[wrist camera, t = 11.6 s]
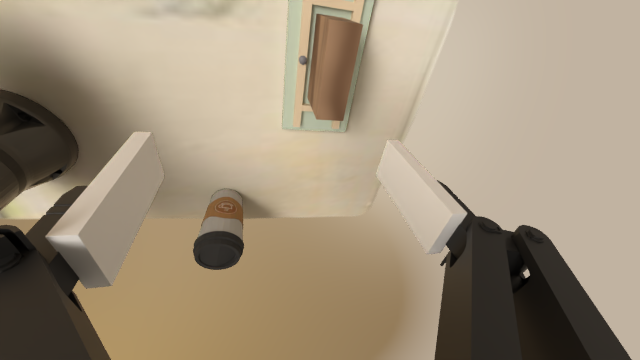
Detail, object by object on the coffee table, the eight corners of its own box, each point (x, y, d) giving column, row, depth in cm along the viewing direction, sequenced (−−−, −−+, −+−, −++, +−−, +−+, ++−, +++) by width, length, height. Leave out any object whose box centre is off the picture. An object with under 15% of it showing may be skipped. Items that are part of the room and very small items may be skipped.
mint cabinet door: (281, 125, 45) (283, 132, 43) (290, -49, 31) (293, -52, 29) (343, 128, 48) (347, 135, 46) (376, -30, 34) (384, -32, 32)
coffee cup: (250, 187, 53) (247, 243, 41) (243, 214, 57) (238, 272, 46) (208, 181, 50) (192, 239, 38) (204, 210, 54) (189, 270, 43)
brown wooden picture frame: (307, 97, 42) (316, 119, 35) (316, 13, 35) (330, 19, 28) (330, 99, 43) (343, 121, 36) (343, 17, 36) (363, 24, 29)
